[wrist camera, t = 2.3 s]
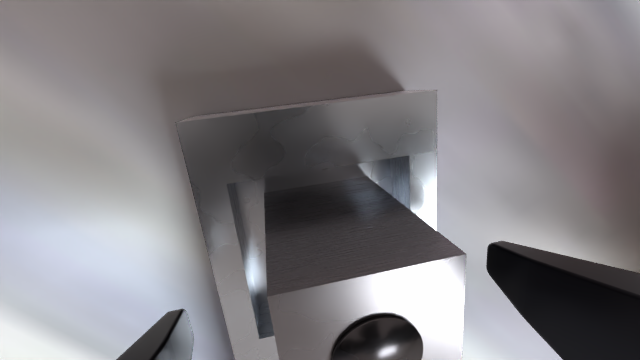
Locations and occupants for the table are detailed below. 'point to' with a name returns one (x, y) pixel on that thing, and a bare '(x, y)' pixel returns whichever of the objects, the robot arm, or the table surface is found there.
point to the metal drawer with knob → (360, 276)
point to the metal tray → (297, 182)
